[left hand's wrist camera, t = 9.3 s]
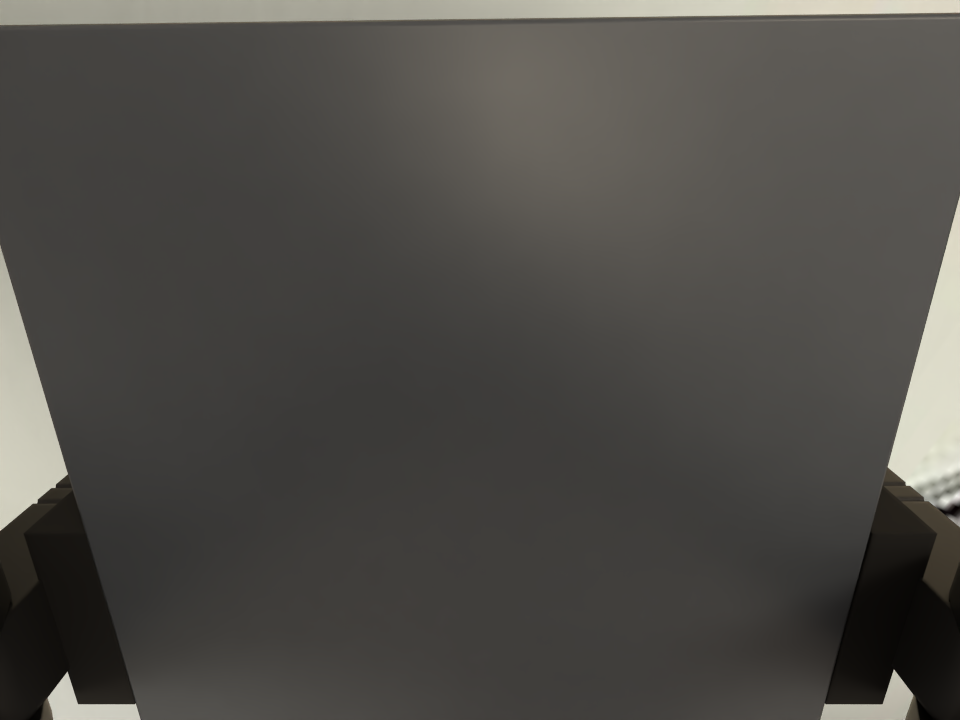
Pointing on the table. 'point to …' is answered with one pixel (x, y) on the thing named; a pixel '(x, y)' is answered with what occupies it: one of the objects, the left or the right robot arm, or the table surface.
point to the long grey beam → (479, 348)
